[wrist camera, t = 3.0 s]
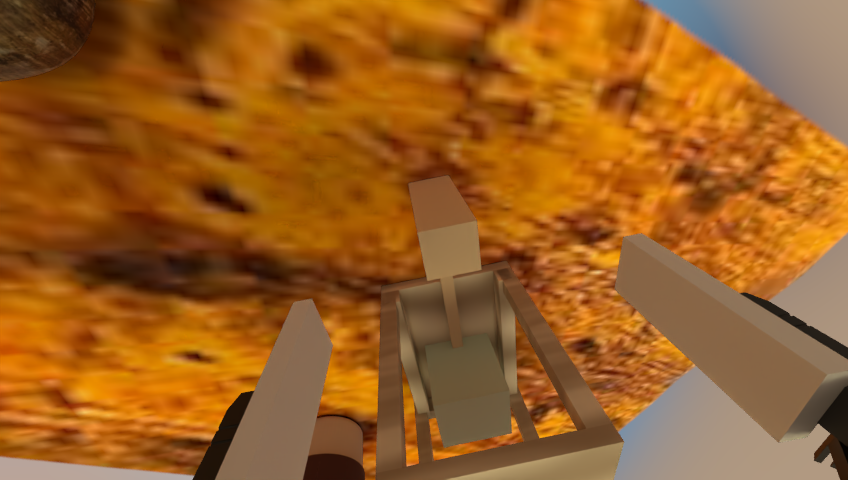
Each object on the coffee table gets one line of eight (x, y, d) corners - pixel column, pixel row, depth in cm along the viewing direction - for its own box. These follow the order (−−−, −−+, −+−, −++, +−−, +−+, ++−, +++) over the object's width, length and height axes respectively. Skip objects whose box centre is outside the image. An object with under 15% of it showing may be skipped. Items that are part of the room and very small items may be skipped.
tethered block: (387, 187, 22) (387, 238, 15) (468, 170, 22) (506, 214, 15) (433, 377, 32) (445, 460, 25) (488, 365, 32) (515, 445, 25)
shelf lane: (381, 286, 26) (375, 494, 13) (506, 260, 26) (623, 441, 13) (415, 398, 34) (432, 600, 21) (511, 378, 34) (589, 566, 21)
